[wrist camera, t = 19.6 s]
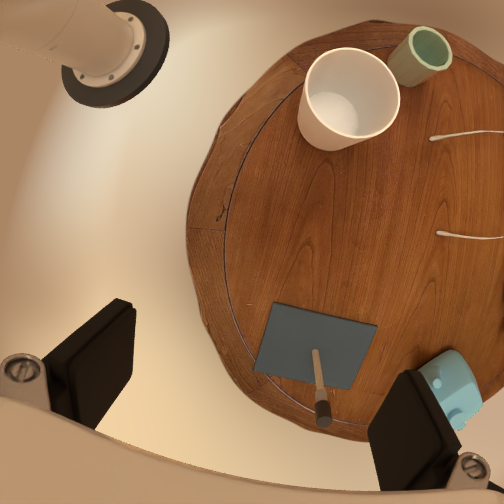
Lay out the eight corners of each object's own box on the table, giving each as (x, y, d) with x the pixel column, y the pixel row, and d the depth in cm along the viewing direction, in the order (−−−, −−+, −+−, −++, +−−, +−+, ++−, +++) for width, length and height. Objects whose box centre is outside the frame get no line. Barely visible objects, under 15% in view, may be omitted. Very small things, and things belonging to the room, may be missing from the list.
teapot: (440, 318, 43) (473, 354, 32) (471, 381, 45) (498, 417, 34) (378, 364, 46) (397, 410, 35) (419, 419, 48) (437, 461, 37)
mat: (253, 368, 48) (253, 370, 47) (273, 301, 45) (273, 303, 44) (348, 387, 47) (349, 390, 47) (377, 325, 44) (377, 327, 44)
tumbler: (383, 78, 36) (406, 58, 27) (389, 44, 34) (411, 19, 26) (421, 93, 36) (450, 78, 27) (426, 58, 34) (453, 38, 25)
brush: (307, 355, 46) (313, 426, 31) (311, 345, 45) (319, 415, 31) (319, 357, 46) (329, 428, 31) (322, 347, 45) (334, 417, 30)
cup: (371, 130, 38) (418, 109, 22) (321, 163, 40) (344, 157, 24) (334, 80, 37) (360, 32, 21) (284, 111, 39) (284, 76, 23)
